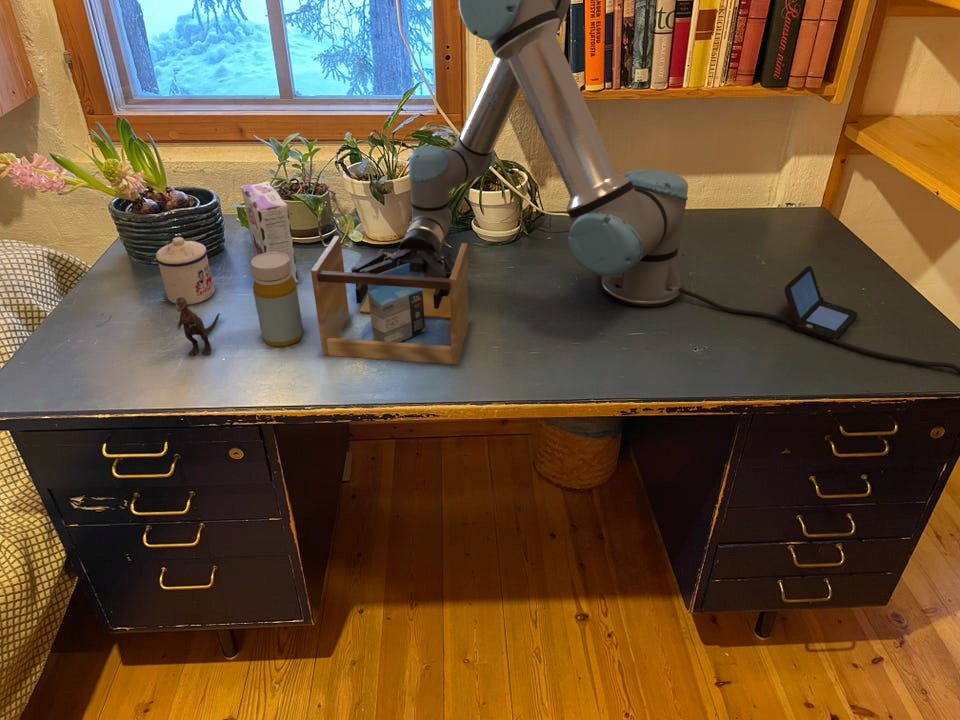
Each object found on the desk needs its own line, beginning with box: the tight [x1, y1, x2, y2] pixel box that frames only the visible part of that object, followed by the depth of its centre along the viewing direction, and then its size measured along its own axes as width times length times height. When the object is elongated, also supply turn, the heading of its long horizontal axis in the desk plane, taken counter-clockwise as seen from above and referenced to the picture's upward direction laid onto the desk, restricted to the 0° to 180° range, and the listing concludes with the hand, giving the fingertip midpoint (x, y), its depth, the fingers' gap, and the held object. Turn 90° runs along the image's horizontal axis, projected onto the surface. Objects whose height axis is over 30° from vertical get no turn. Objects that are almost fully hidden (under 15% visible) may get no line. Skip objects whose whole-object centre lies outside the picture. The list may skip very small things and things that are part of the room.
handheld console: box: [783, 265, 858, 342], centre depth 132 cm, size 12×11×7 cm
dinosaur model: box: [175, 297, 221, 357], centre depth 125 cm, size 4×12×15 cm
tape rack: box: [310, 235, 469, 366], centre depth 124 cm, size 23×13×16 cm, turn 83°
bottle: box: [250, 252, 304, 348], centre depth 125 cm, size 7×7×15 cm
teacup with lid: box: [155, 236, 215, 306], centre depth 140 cm, size 12×9×12 cm
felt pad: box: [359, 288, 451, 320], centre depth 140 cm, size 18×12×1 cm, turn 83°
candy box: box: [240, 180, 299, 284], centre depth 145 cm, size 14×6×16 cm, turn 27°
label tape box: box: [367, 263, 426, 343], centre depth 126 cm, size 9×4×12 cm, turn 131°
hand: (396, 299), depth 126 cm, fingers open, 13 cm apart
